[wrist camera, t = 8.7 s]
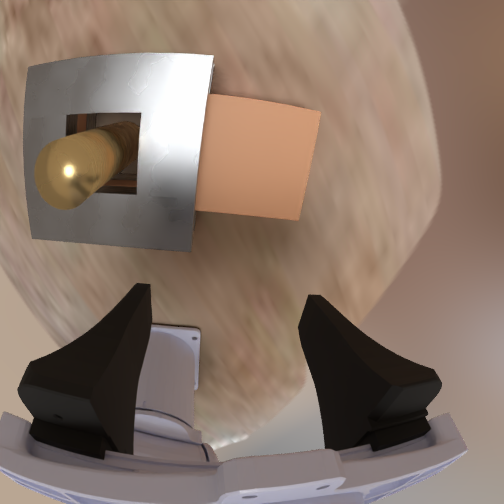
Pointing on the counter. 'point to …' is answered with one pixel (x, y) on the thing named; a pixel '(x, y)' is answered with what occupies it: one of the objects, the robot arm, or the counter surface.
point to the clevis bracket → (149, 154)
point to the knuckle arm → (251, 157)
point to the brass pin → (84, 163)
